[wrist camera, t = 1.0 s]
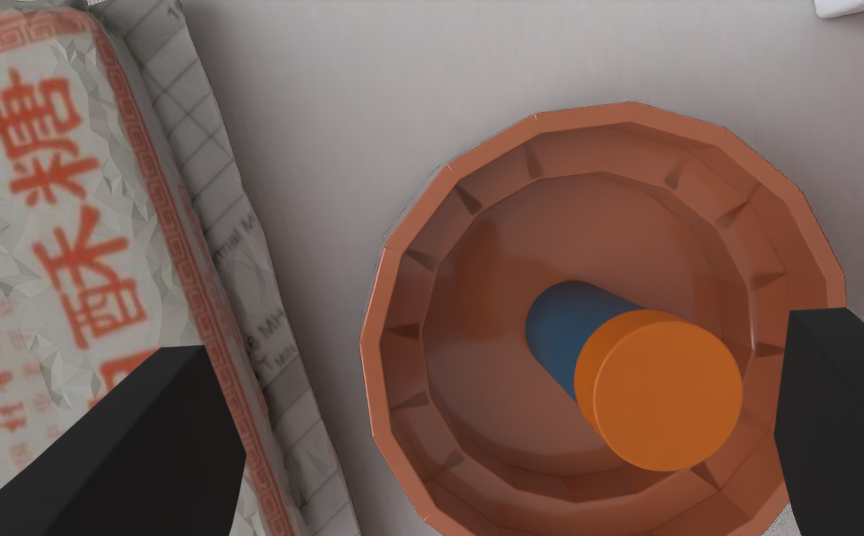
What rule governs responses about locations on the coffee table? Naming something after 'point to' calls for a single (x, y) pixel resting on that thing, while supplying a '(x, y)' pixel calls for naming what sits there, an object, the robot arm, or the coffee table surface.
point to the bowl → (603, 267)
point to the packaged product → (141, 251)
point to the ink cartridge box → (837, 8)
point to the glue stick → (637, 374)
